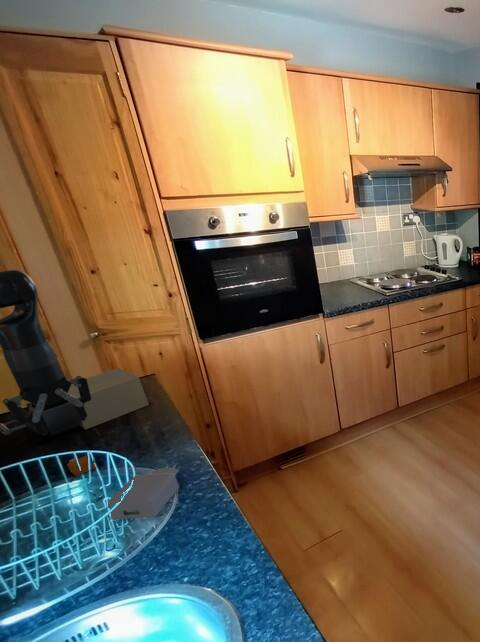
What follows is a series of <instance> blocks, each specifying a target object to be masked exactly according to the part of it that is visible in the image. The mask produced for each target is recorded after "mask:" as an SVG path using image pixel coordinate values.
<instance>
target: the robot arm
mask: <svg viewBox="0 0 480 642" xmlns="http://www.w3.org/2000/svg"><path fill="white" fill-rule="evenodd" d="M38 296H39V294H38V288H37V285H36V283H35V281H34V279H33V278H31V276H30V275H28V274H27V273H25V272H23V271H21V270H18V269H17V270H16V269H10V270H3V271H0V309H5V308H9V307H14V308H13V310H12V312H11V313H9V314H8V315H6V316H4V317H1V318H0V348H1V351H2V354H3V357H4V360H5V362H6V364H7V366H8V368H9V371H10V372H11V374H12V376H13V378H14V380H15V382H16V384H17V387H18V389H19V394H18V395H16V396H14V397H12V398H4V399H2V403H3V404H4V406H5V407H6V408H7V410H8V411H9V412H10V414H11V416H13V418H14V420H17V421H18V422H17V423H19V424H20V423H21V424H26V423H32V425H33V427H34V429H35V431H36V432H37V433H39V434H40V435H41V434H42V435H44V436H48V435H49V434H48V432H47V430H46V428H45V426H44V424H43V422H42V421H41V420H40V417H41V413H42V412H43V409H44V406H45V407H46V406H49V405H51V404H53V403H56V402H60V401H63V399H65V400H67V401H69V402H70V403H72V404H73V405H74V406H73V408H74V410H75V413H76V415H77V417H78V419H79V420H80V421H84V420H86V419H85V418H86V417H87V413H86V411H85V408H84V406H83V405H84V403H86V402H87V401H90V400H91V395H90V391H89V387H88V383H87V379H86V377H83V376H81V375H77V376H76V377H75V378H70V379H68V378H67V377H66V375H65V372H64V370H63V368H62V366H61V363H60V361H59V358H58V355H57V353H56V352H55V349H54V347H53V346H52V345H51V343H50V342H49V340H48V338H47V336H46V334H45V331H44V329H43V327H42V324H41V321H40V315H39V301H38V300H39V299H38V298H39V297H38ZM71 384H74V386H76V387H78V390H79V394H80V398H78V399H76V398H74V397H73V396H71V395H69V394H68V391H69V389H70V387H71ZM23 400H24V401H26V402H28V403H30V407H29V409H30V411H28V412H29V416H24V414H23V413H22V412H21V410H20V409H19V407H21V406H22V401H23ZM29 409H28V410H29ZM21 424H20V425H21Z"/></svg>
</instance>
